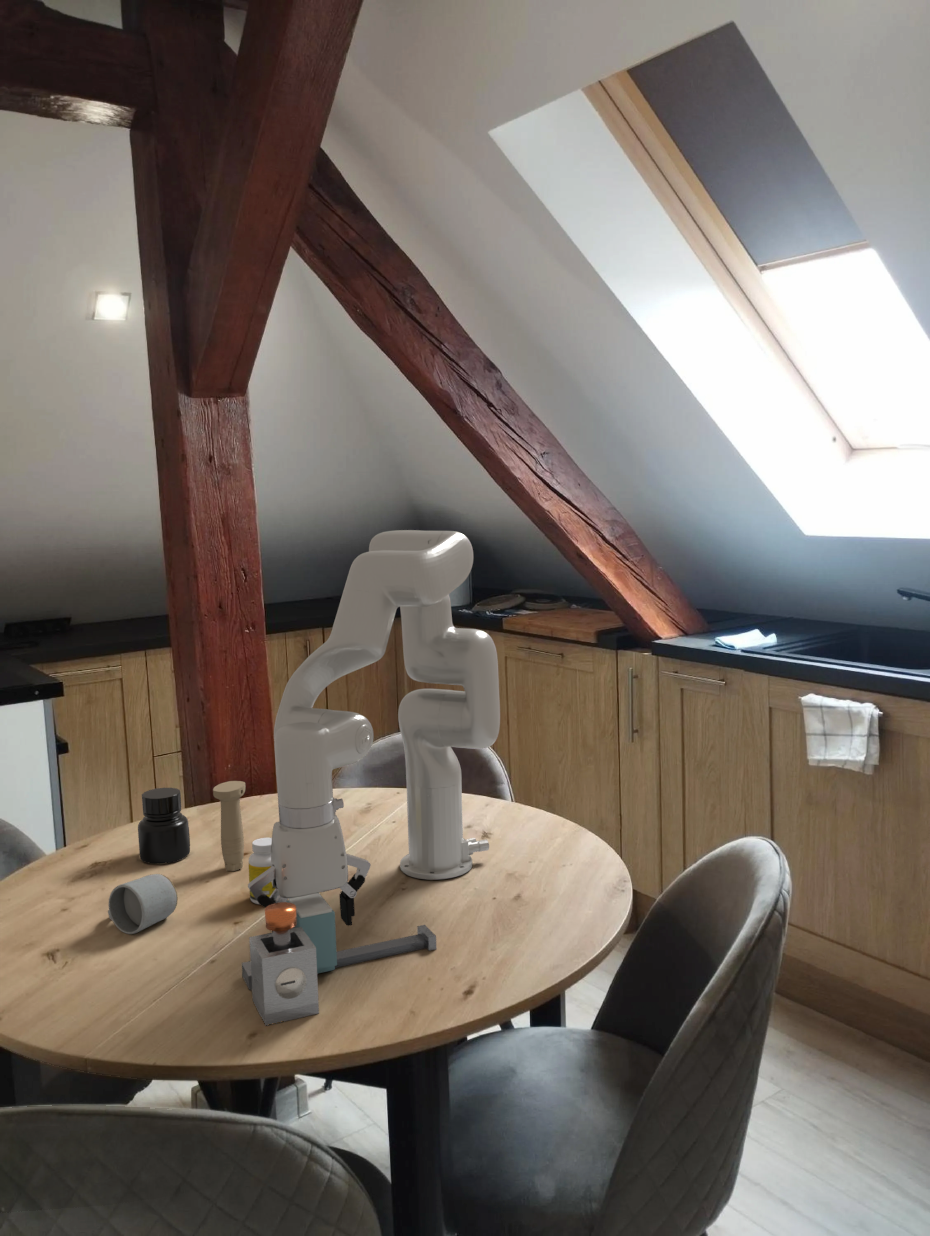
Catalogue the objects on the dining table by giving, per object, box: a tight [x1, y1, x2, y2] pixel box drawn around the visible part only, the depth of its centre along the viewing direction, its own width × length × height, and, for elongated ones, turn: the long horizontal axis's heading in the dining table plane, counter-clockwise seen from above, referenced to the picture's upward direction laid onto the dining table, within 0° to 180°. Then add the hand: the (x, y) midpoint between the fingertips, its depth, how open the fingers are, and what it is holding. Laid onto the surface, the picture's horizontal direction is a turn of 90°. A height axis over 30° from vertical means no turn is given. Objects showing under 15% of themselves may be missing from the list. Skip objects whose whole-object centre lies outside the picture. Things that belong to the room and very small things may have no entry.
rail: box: [241, 924, 437, 991], centre depth 154 cm, size 27×4×2 cm, turn 114°
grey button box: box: [248, 927, 320, 1027], centre depth 141 cm, size 7×7×9 cm
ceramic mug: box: [107, 873, 178, 935], centre depth 169 cm, size 11×8×8 cm
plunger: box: [264, 902, 297, 952], centre depth 140 cm, size 4×4×8 cm
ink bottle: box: [137, 787, 191, 865], centre depth 197 cm, size 10×9×12 cm
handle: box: [212, 780, 246, 872], centre depth 190 cm, size 5×6×15 cm
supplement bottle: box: [248, 837, 276, 905], centre depth 177 cm, size 5×5×10 cm
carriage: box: [286, 893, 337, 975], centre depth 152 cm, size 5×7×9 cm
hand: (313, 929), depth 152 cm, fingers open, 9 cm apart
